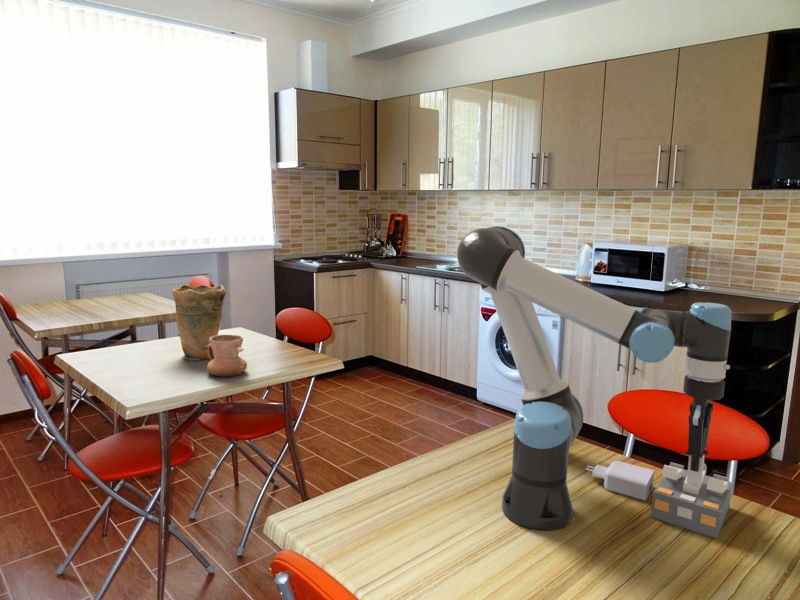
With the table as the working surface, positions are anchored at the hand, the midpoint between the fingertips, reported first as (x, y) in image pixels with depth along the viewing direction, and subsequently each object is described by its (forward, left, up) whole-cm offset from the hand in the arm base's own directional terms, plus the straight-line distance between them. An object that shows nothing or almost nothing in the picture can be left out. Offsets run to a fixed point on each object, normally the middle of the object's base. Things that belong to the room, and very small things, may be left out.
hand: (694, 483), depth 124 cm
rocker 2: (+4, +1, -1) cm, 4 cm away
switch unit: (+4, +1, -9) cm, 9 cm away
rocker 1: (+4, +5, -1) cm, 6 cm away
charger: (+6, +17, -9) cm, 21 cm away
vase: (+7, +189, -9) cm, 189 cm away
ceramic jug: (-1, +162, -9) cm, 162 cm away
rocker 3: (+4, -4, -1) cm, 6 cm away
